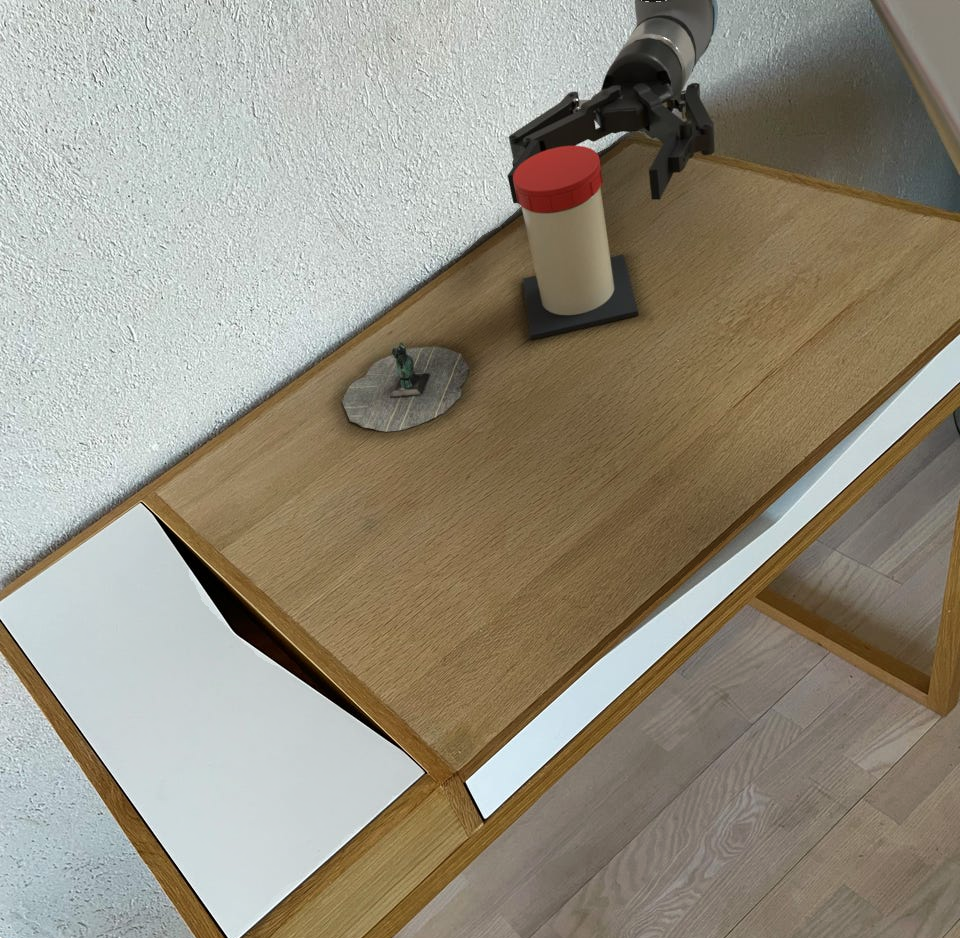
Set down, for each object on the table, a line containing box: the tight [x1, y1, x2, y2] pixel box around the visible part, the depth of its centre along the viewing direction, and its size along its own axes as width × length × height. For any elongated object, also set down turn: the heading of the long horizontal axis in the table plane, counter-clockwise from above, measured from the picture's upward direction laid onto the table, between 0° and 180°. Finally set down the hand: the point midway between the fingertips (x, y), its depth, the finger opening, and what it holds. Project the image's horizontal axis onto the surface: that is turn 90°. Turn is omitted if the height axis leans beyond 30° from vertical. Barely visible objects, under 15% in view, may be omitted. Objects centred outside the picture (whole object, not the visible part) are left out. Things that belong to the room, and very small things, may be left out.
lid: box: [513, 145, 603, 212], centre depth 82 cm, size 8×8×2 cm
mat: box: [522, 254, 639, 341], centre depth 90 cm, size 10×10×1 cm
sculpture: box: [341, 342, 470, 433], centre depth 88 cm, size 12×9×8 cm
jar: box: [520, 186, 614, 315], centre depth 86 cm, size 7×7×12 cm
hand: (581, 187), depth 87 cm, fingers open, 13 cm apart
